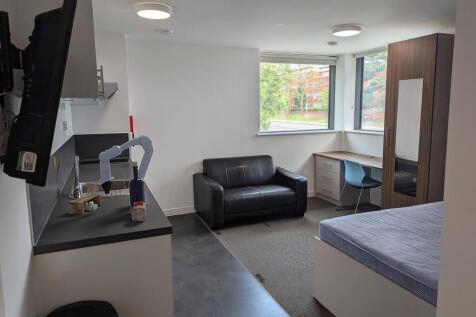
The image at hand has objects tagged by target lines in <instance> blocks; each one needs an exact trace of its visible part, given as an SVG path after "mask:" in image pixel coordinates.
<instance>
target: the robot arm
mask: <svg viewBox="0 0 476 317" xmlns="http://www.w3.org/2000/svg"><path fill="white" fill-rule="evenodd" d="M134 146H140V147H142V149H143V151H144V152H143V155H142V158H141V160H140V164H139V166H138V178H139V179H141V180H142V181H143V182H144V183H145V176H146V173H147V172H148V168H149V165H150V163H151V159H152V156H153V153H154V149H153V148H154V147H153V141H152V140H151V138H150V137H149V136H148V135H144V134H142V135H139V136H136V137H134V138H131V139H130V140H129V141H126V142H124V143H122V144H121V145H113V146H112V147H111V148H109V149H105V150H104V151H102V152H100V153H99V154H98V159H99V173H100V178H99V180H98V181H97V185H99V186H101V187H102V189H103V192H104V194H105V195H110V194H111V193H110V191H111V188H112V185H113V181H114V180H115V177H114V176H112V172H111V163H110V160H111V159H114V158H115V157H117V156H120V155H121V154H122V153H123V151H125V150H127V149H129V148H131V147H134ZM144 193H145V204H146V206H147V205H150V203H149V197H148V196H149V195H148V193H147V192H146V191H144Z"/></svg>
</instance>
